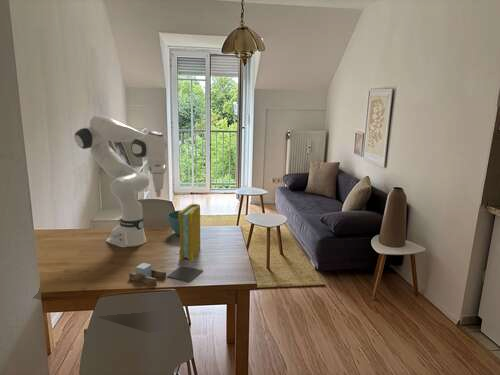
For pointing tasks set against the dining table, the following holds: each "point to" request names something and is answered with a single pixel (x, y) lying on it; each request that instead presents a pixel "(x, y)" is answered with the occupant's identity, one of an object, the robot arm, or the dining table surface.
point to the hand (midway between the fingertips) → (157, 194)
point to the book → (189, 231)
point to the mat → (185, 273)
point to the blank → (144, 269)
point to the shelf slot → (148, 279)
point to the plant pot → (174, 221)
